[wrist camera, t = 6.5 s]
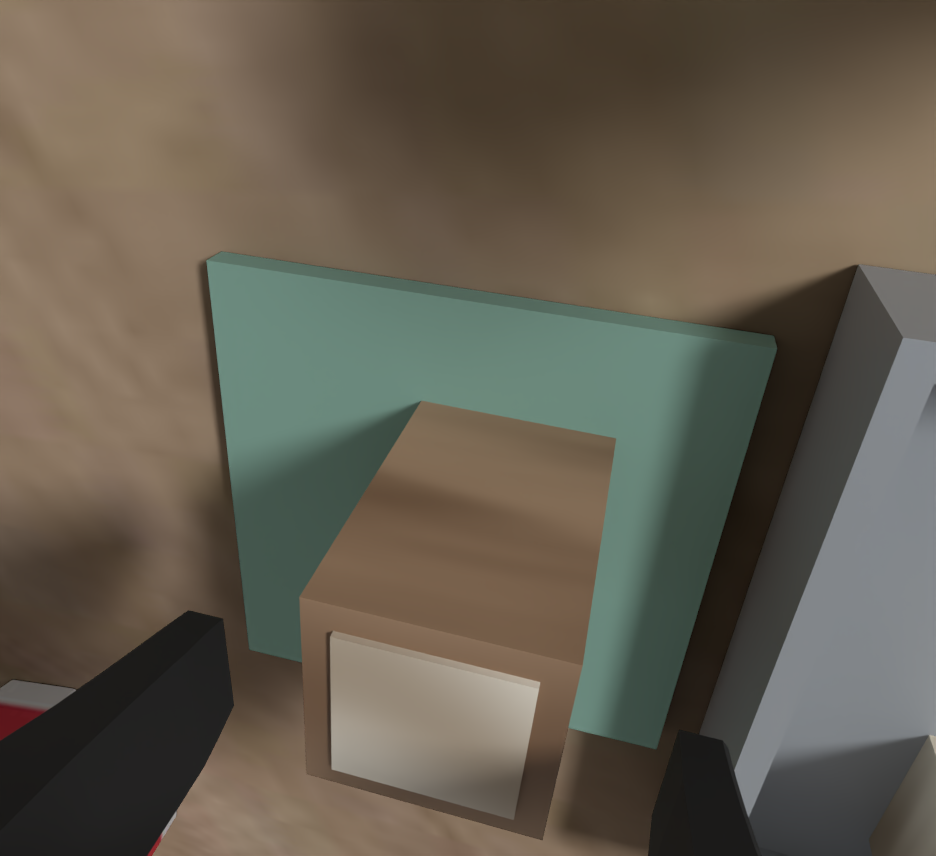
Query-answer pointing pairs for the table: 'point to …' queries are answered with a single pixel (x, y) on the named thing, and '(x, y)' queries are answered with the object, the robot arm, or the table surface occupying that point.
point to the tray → (843, 590)
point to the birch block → (911, 811)
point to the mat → (494, 392)
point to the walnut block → (458, 617)
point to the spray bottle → (35, 711)
